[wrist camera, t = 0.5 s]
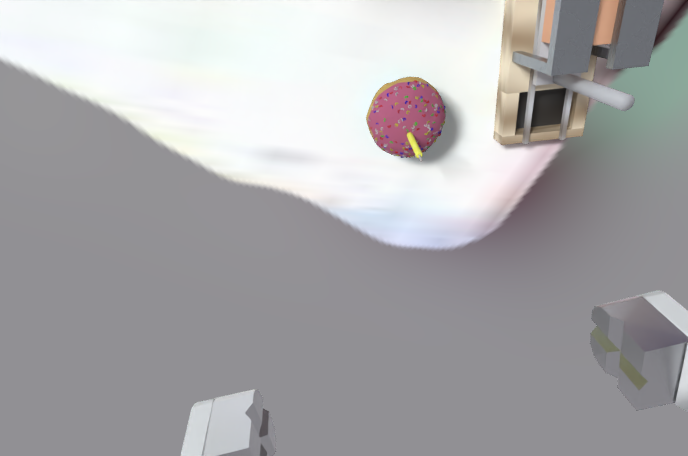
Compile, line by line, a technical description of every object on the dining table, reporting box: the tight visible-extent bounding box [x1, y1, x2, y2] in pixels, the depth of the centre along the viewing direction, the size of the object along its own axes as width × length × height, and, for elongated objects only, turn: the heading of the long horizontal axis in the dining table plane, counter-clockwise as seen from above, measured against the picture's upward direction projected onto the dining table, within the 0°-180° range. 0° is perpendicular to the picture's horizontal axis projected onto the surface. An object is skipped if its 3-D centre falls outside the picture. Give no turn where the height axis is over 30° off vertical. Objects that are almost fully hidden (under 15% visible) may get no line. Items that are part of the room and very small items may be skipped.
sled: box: [533, 0, 634, 111], centre depth 42 cm, size 14×5×12 cm, turn 4°
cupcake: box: [366, 77, 445, 161], centre depth 48 cm, size 9×8×12 cm
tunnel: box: [512, 0, 664, 76], centre depth 44 cm, size 9×10×8 cm
